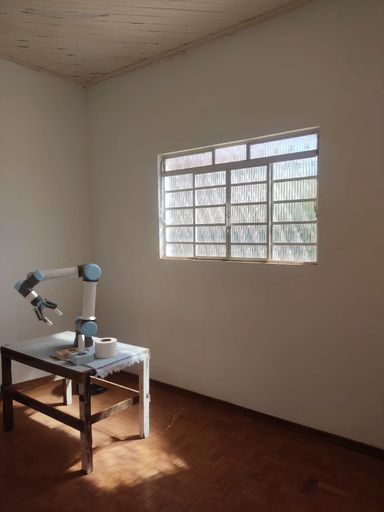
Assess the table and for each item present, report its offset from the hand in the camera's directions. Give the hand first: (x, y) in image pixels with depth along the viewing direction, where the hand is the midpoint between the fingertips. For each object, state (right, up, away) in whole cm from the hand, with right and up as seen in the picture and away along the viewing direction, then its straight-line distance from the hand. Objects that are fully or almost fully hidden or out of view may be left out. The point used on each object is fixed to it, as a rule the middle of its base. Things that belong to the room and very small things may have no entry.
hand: (56, 320), depth 256 cm
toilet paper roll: (+33, -26, +7) cm, 43 cm away
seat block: (+20, -27, -7) cm, 34 cm away
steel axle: (+20, -27, -7) cm, 34 cm away
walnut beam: (+9, -26, +5) cm, 28 cm away
